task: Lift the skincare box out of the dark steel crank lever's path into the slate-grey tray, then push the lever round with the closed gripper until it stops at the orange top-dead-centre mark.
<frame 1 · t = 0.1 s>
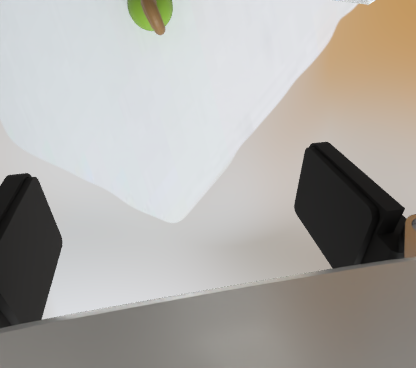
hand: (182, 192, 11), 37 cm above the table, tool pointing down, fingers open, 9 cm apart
snail figurine: (147, 0, 39), on the table
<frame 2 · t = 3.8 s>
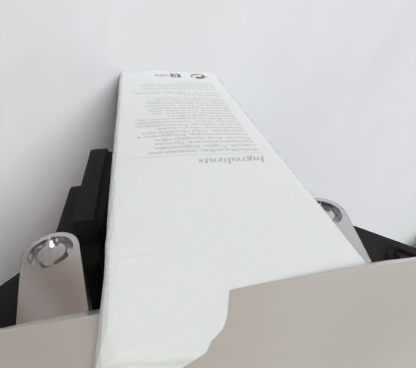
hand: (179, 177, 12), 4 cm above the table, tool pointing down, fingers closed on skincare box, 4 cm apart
skincare box: (170, 132, 15), on the table, touching gripper
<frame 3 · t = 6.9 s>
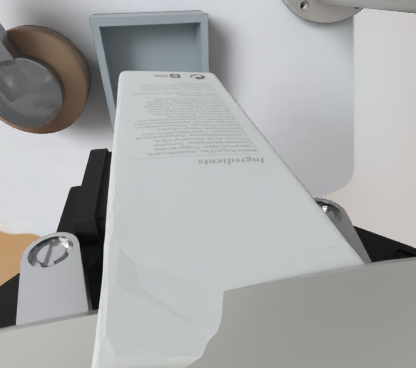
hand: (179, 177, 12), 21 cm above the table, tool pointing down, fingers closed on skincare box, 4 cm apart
crank pedestal: (43, 74, 27), on the table
tray: (154, 67, 29), on the table
skincare box: (170, 133, 15), point 17 cm above the table, touching gripper
when the fingers open (6 cm above the table, at t = 10.3 s): skincare box drops 1 cm, resting on tray.
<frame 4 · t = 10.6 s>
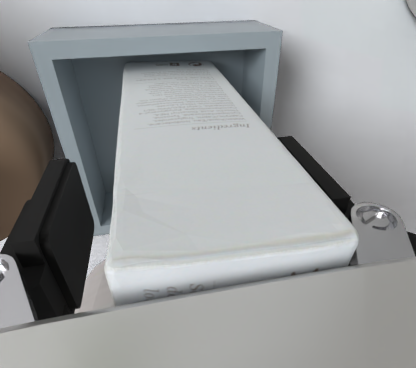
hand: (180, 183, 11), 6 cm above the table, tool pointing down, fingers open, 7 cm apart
tray: (167, 118, 16), on the table
potted plant: (141, 276, 23), on the table
skincare box: (173, 119, 16), resting on tray
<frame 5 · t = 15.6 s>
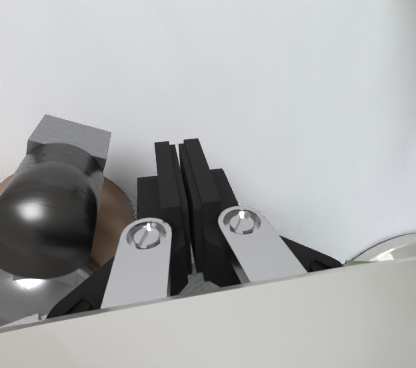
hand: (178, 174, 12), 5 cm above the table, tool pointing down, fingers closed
crank pedestal: (66, 221, 18), on the table
crank: (43, 280, 11), point 7 cm above the table, hinge at -69.0°, touching gripper
skincare box: (193, 281, 23), resting on tray
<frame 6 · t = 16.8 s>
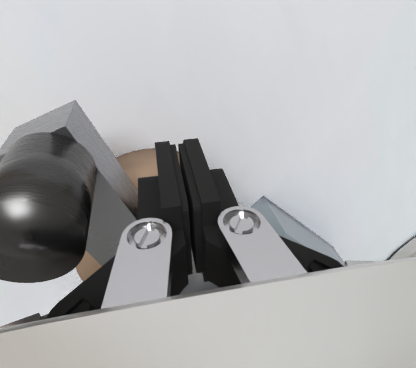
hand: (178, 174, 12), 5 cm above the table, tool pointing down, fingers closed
crank pedestal: (154, 206, 18), on the table
tray: (256, 260, 23), on the table
crank: (129, 266, 11), point 7 cm above the table, hinge at -25.9°, touching gripper
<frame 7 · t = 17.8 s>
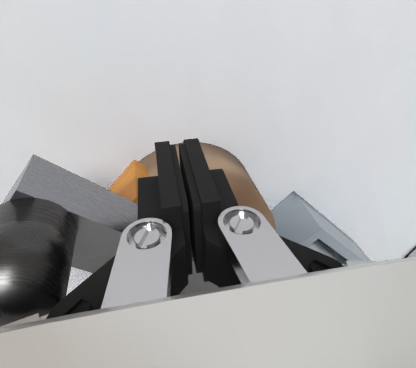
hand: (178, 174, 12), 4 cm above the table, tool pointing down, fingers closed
crank pedestal: (187, 201, 18), on the table
tray: (281, 256, 23), on the table
crank: (154, 280, 11), point 7 cm above the table, hinge at 2.3°, touching gripper
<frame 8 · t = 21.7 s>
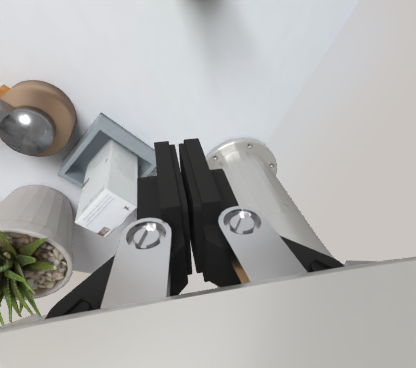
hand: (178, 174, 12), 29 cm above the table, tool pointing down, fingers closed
crank pedestal: (41, 112, 37), on the table
tray: (111, 156, 42), on the table
potted plant: (42, 203, 45), on the table
skincare box: (113, 158, 42), resting on tray
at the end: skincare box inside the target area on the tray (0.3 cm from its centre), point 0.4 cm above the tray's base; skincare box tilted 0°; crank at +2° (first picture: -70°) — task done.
